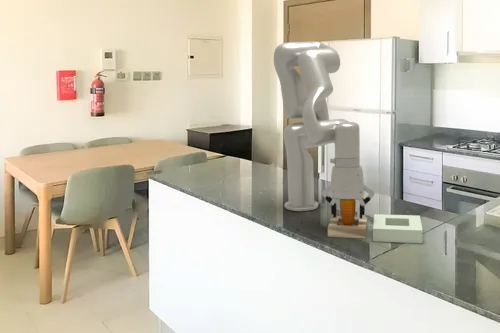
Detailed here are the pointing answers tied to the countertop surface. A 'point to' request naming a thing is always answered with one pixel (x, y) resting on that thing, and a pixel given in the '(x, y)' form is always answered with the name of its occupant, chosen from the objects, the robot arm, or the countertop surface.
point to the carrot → (347, 211)
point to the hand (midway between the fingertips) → (347, 216)
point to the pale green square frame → (397, 228)
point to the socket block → (347, 228)
